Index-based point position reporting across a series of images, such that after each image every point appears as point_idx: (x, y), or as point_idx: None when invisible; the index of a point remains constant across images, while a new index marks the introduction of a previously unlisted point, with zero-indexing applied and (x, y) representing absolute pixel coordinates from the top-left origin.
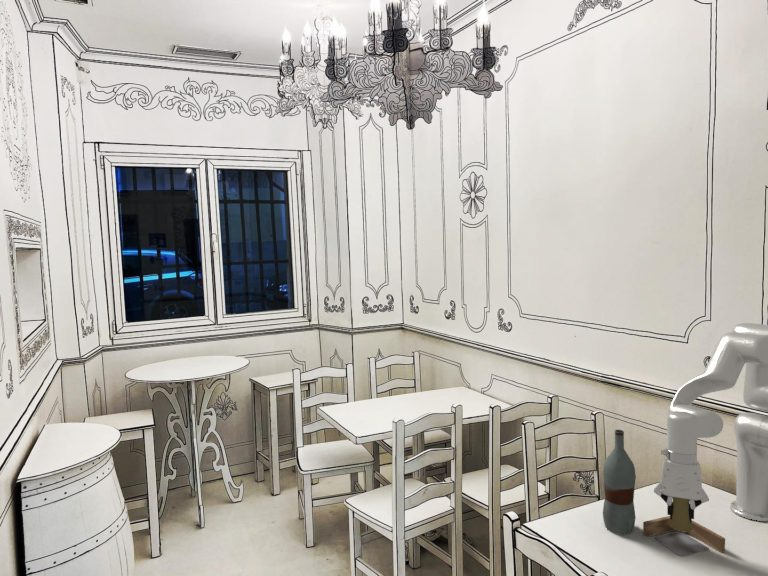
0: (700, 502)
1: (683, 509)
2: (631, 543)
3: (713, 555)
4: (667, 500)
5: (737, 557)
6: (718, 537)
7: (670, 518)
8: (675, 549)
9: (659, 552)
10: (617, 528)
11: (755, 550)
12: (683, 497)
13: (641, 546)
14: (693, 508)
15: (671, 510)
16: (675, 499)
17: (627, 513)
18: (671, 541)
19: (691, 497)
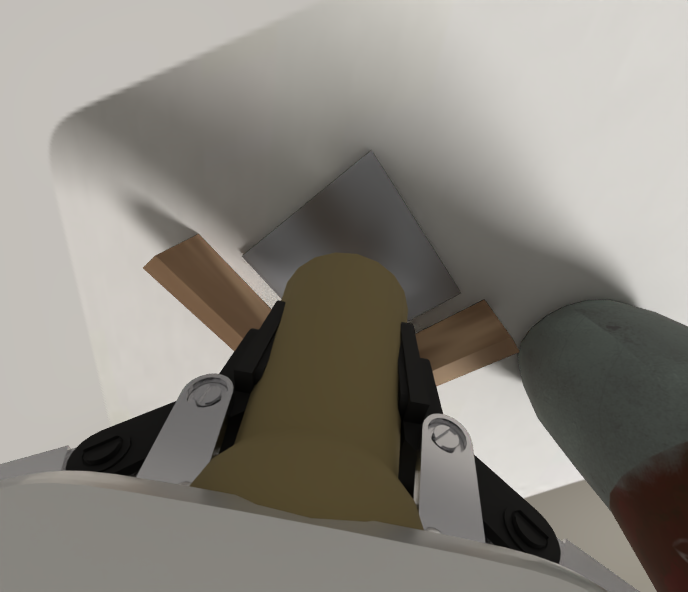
0: (88, 451)
1: (309, 363)
2: (589, 224)
3: (228, 204)
4: (472, 472)
5: (140, 212)
6: (172, 269)
7: (411, 326)
8: (386, 203)
9: (472, 163)
10: (645, 311)
11: (94, 283)
12: (257, 534)
13: (547, 205)
14: (211, 386)
15: (413, 370)
16: (391, 486)
17: (666, 375)
18: None
19: (81, 540)
